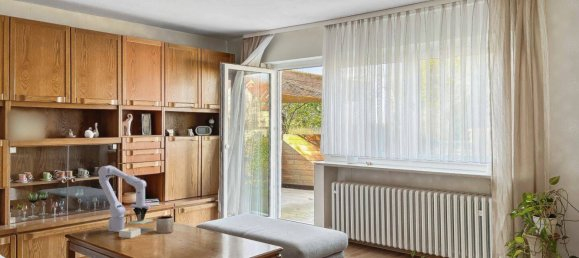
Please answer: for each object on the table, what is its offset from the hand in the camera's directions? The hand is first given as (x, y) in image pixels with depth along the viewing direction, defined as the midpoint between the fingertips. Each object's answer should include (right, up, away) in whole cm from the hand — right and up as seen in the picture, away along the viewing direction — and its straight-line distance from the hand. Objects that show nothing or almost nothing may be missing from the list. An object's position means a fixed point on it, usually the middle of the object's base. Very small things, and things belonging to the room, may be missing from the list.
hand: (140, 219), depth 296 cm
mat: (0, -8, 0) cm, 8 cm away
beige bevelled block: (-1, -8, -15) cm, 17 cm away
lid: (0, -2, 0) cm, 2 cm away
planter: (+17, -8, -3) cm, 19 cm away
